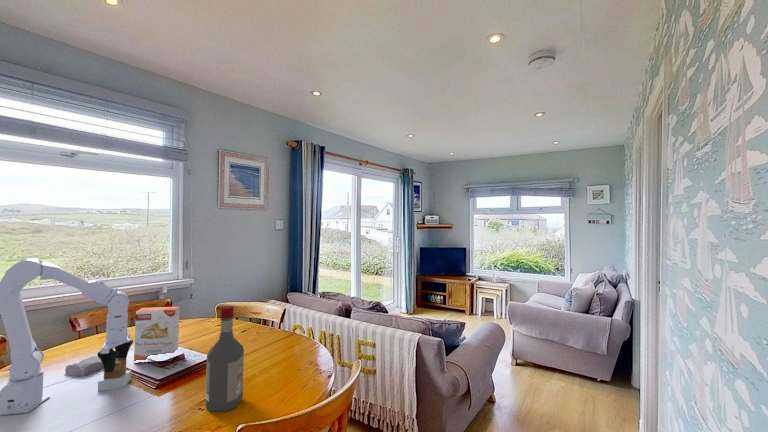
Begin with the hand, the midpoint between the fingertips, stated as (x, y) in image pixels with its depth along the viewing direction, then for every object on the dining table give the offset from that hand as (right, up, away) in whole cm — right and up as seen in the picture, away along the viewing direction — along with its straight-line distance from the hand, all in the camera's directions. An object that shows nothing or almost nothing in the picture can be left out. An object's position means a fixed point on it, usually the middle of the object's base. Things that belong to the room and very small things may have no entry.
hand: (115, 367), depth 117 cm
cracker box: (0, -7, +21) cm, 22 cm away
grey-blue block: (0, -6, 0) cm, 6 cm away
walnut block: (0, -3, 0) cm, 3 cm away
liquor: (+43, -7, -11) cm, 44 cm away
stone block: (-20, -6, +12) cm, 24 cm away
